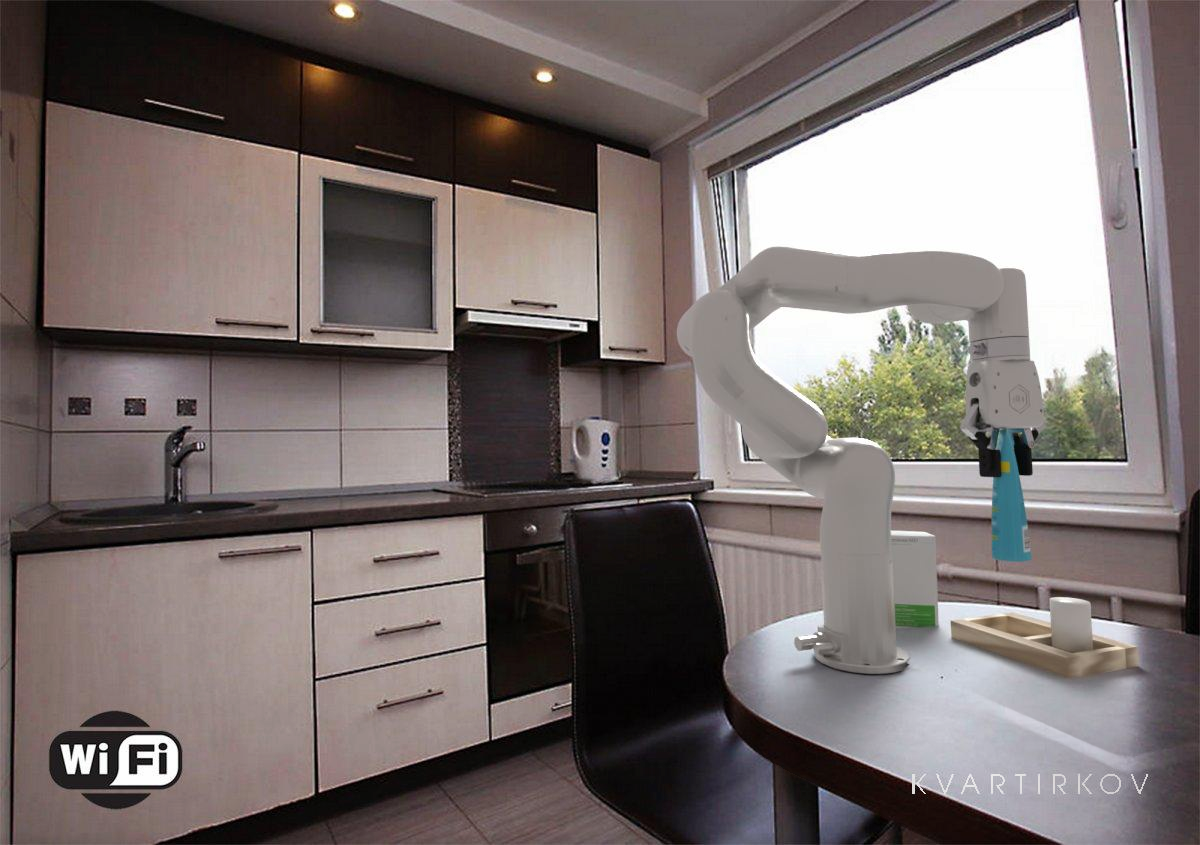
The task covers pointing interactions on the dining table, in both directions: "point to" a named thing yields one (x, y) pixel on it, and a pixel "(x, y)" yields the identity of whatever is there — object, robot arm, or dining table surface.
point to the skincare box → (914, 579)
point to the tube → (1009, 509)
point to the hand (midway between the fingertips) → (1006, 474)
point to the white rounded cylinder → (1071, 624)
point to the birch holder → (1042, 645)
